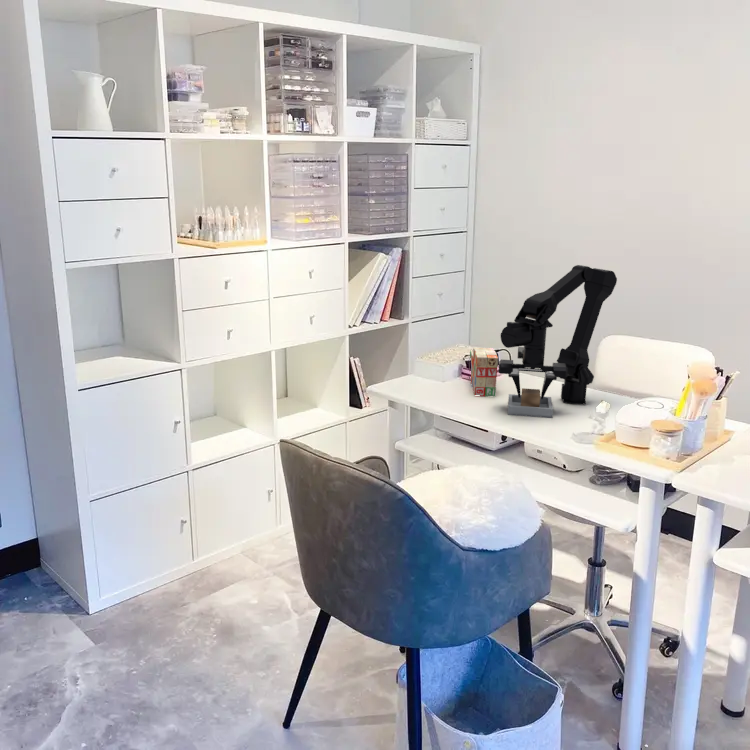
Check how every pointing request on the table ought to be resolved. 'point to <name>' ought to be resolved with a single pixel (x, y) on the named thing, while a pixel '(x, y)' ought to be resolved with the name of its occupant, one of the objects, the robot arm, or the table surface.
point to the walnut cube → (530, 397)
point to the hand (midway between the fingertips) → (530, 398)
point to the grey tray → (541, 411)
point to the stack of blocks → (483, 371)
